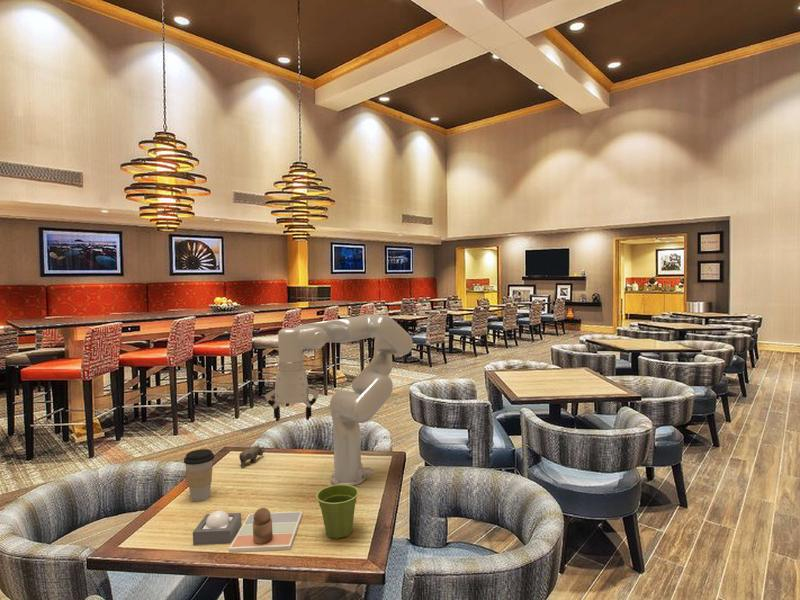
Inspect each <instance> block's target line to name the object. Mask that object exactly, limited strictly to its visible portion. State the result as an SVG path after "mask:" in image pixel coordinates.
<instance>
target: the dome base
mask: <svg viewBox="0 0 800 600" xmlns="http://www.w3.org/2000/svg"><path fill="white" fill-rule="evenodd" d="M226 513H227V512H226ZM210 514H211V513H206V514H205V515H204V517H203V518H202V519H201V520H200V522H199V523H198V525H197V526H195V527H196V528H195V529H194V530H193V531H192V545H193V546H197V545H199V546H200V545H221V544H223V545H224V544H232V542H233V541H234V539H235V537H236V535H237V534H238V532H239V530H240V529H241V527H242V525H243V523H242V512H231V513H230V512H228V513H227V514H228V515H229V517H233V518H232V520H231V521H230V523H229V525H228V526H227V528H214V529H203V527H204V526H205V525H206V520H207V518H208V516H209V515H210Z"/></svg>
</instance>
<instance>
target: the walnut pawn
mask: <svg viewBox="0 0 800 600" xmlns="http://www.w3.org/2000/svg"><path fill="white" fill-rule="evenodd" d="M254 513H255V514H254V521H253V541H254V543H255V544H258V545H261V544H266V543H269V542H270V541H271V540H272V539H273V532H272V519H271V518H270V517H271V514H270V513H271V512H270V510H269V509H268V508H264V507H260V508H258V509H257V510H256V511H255V512H254Z"/></svg>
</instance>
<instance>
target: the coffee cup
mask: <svg viewBox="0 0 800 600" xmlns="http://www.w3.org/2000/svg"><path fill="white" fill-rule="evenodd" d="M214 459H215V453H213V451H212V450H211V449H207V448H200V449H195V450H191V451H189V452H187V453H186V454H185V457H184V458H183V464H185V474H186V479H187V487H188V489H189V496H190V501H191V502H193V503H198V502H205V501H206V500H208V499H210V497H211V491H212V490H211V489H212V483H213V482H212V480H213V460H214Z"/></svg>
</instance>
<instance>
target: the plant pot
mask: <svg viewBox="0 0 800 600" xmlns="http://www.w3.org/2000/svg"><path fill="white" fill-rule="evenodd" d="M359 492H360V491H359V488H357V487H356V486H355V485H354V486H351V485H346V484H338V485H334V484H332V485H329V486H328V485H327V486H326V487H325V486H324V488H321V489H319V490H318V492H317V493H316V494H315V499H316V500H317V501H318V504H319V507H320V510H321V511H320V512H321V515H322V520H323V525H324V529H325V533H326V535H327V537H329V538H330V539H334V540H335V539H337V540H338V539H339V540H340V538H346V537H348V536H350V535H351V534H352V532H353V525H354V517H355V508H356V507H355V506H356V503H357V497H359V494H360V493H359Z"/></svg>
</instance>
